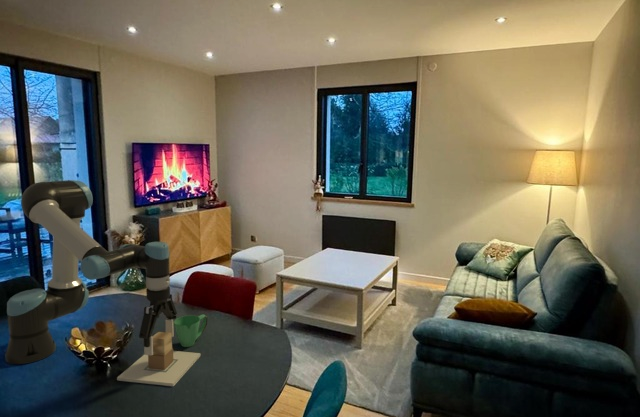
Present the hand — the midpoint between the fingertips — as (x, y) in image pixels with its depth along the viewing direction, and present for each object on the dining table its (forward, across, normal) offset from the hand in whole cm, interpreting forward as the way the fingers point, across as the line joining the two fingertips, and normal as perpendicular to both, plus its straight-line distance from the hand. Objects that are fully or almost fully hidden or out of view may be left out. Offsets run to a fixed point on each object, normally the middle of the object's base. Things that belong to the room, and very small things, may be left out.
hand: (159, 345), depth 139 cm
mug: (+9, +20, -2) cm, 22 cm away
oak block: (+2, 0, -1) cm, 2 cm away
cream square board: (+8, 0, 0) cm, 8 cm away
